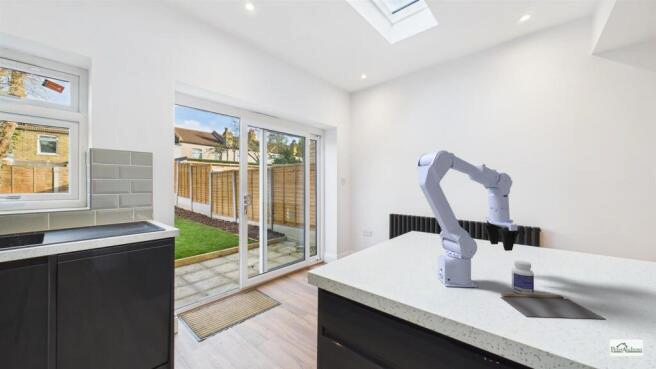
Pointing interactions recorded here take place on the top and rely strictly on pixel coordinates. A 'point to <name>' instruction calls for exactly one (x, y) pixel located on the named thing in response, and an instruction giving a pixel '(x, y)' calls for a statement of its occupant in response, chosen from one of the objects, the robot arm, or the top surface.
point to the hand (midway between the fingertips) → (501, 247)
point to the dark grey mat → (548, 306)
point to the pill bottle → (522, 278)
